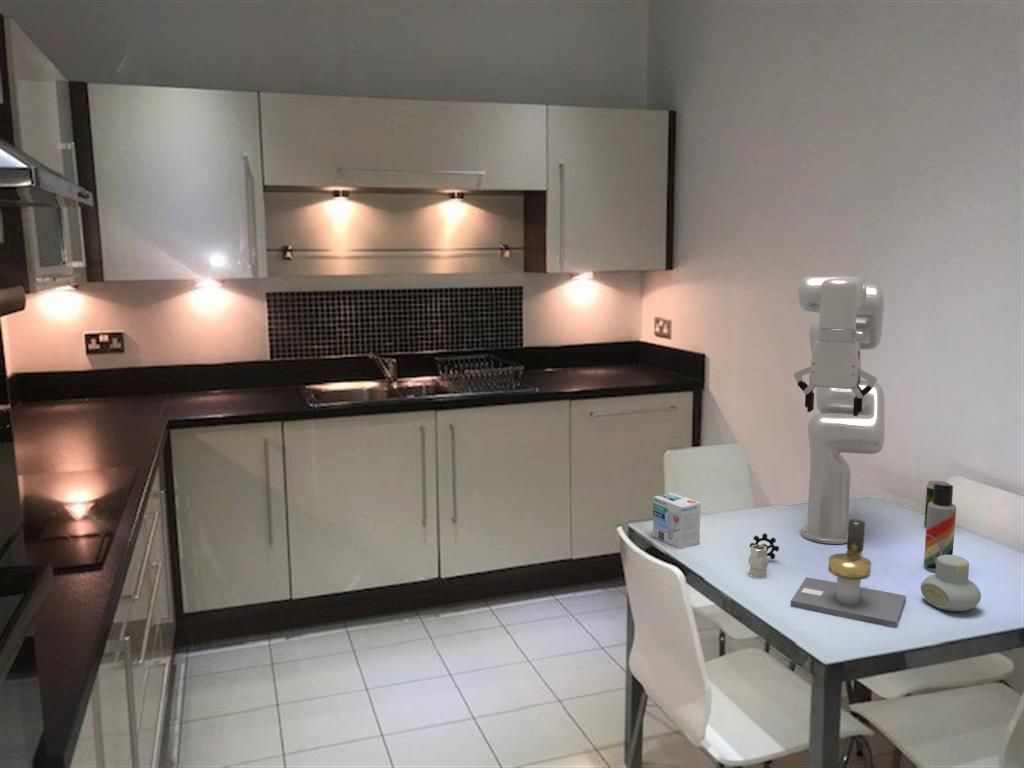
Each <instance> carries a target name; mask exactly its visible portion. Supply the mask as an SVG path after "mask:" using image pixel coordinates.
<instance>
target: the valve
mask: <svg viewBox="0 0 1024 768" xmlns="http://www.w3.org/2000/svg"><path fill="white" fill-rule="evenodd" d="M753 541H755V542H751V543H749V548H750V554H749V557H748V564H749V567H750V568H749V576H750V575H752V576H751V577H753V576H754V577H753V578H755V577H764V578H766V575H767V567H768V565H769V558H768V557H770V559H771V560H774V559H775V558H776V554H775V553H774V552H779V550H780V547H779V545H775V543H776V541H777V539H776V537H771V538H768V533H766V532H764V533H763V534H762V535H761V537H759V536H758V535H754V536H753ZM763 541H764V542H767V543H769V545H768V544H767V543H762V544H759V543H760V542H763ZM769 549H771V550H770V551H769ZM768 551H769V552H768Z"/></svg>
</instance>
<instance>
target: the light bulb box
mask: <svg viewBox="0 0 1024 768" xmlns="http://www.w3.org/2000/svg"><path fill="white" fill-rule="evenodd" d="M652 505H653V506H652V508H653V509H652V510H653V511H652V537H654V538H655V539H658V540H661V541H662V542H664V543H666V544H668V545H671V546H673V547H675V548H676V549H679V550H680V549H683V548H688V547H692V546H696V545H700V539H701V537H700V534H701V533H700V531H701V529H700V528H701V502H700V501H697V500H694V499H692V498H688V497H686V496H683V495H681V494H678V493H677V492H676V493H675V492H672V491H671V492H668V493H663V494H660V495H655V496H653V504H652Z"/></svg>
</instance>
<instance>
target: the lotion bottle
mask: <svg viewBox="0 0 1024 768" xmlns="http://www.w3.org/2000/svg"><path fill="white" fill-rule="evenodd" d="M953 495H954V485H952V484H950V485H946V484H934V490H933V502H929V503H928V510H927V524H926V528H925V539H924V540H925V542H924V552H923V553H924V554H923V555H924V556H923V567H924V568H925V570H927V571H929V572H932V573H936V562H937V558H938V557H939V556H941V555H954V553H953V552H954V541H955V529H956V516H957V507H956V505H955V504H953Z"/></svg>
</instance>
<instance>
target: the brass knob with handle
mask: <svg viewBox="0 0 1024 768" xmlns="http://www.w3.org/2000/svg"><path fill="white" fill-rule="evenodd" d="M865 526H866V522H865V521H864V520H862V519H856V518H855V519H853V518H851V519H848V540H847V543H846V549H847V551H846V553H835V554H832V555H829V557H828V572H829V574H831V575H833V576H835V577H840V578H845V579H852V580H860V581H861V580H867V579H868V578H870V577H871V571H872V570H871V569H872V562H871V560H870V559H869V558H867V557H865V556H863V554H864V553H863V551H864V547H865V546H864V545H865V544H864V543H865V528H866V527H865Z"/></svg>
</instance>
